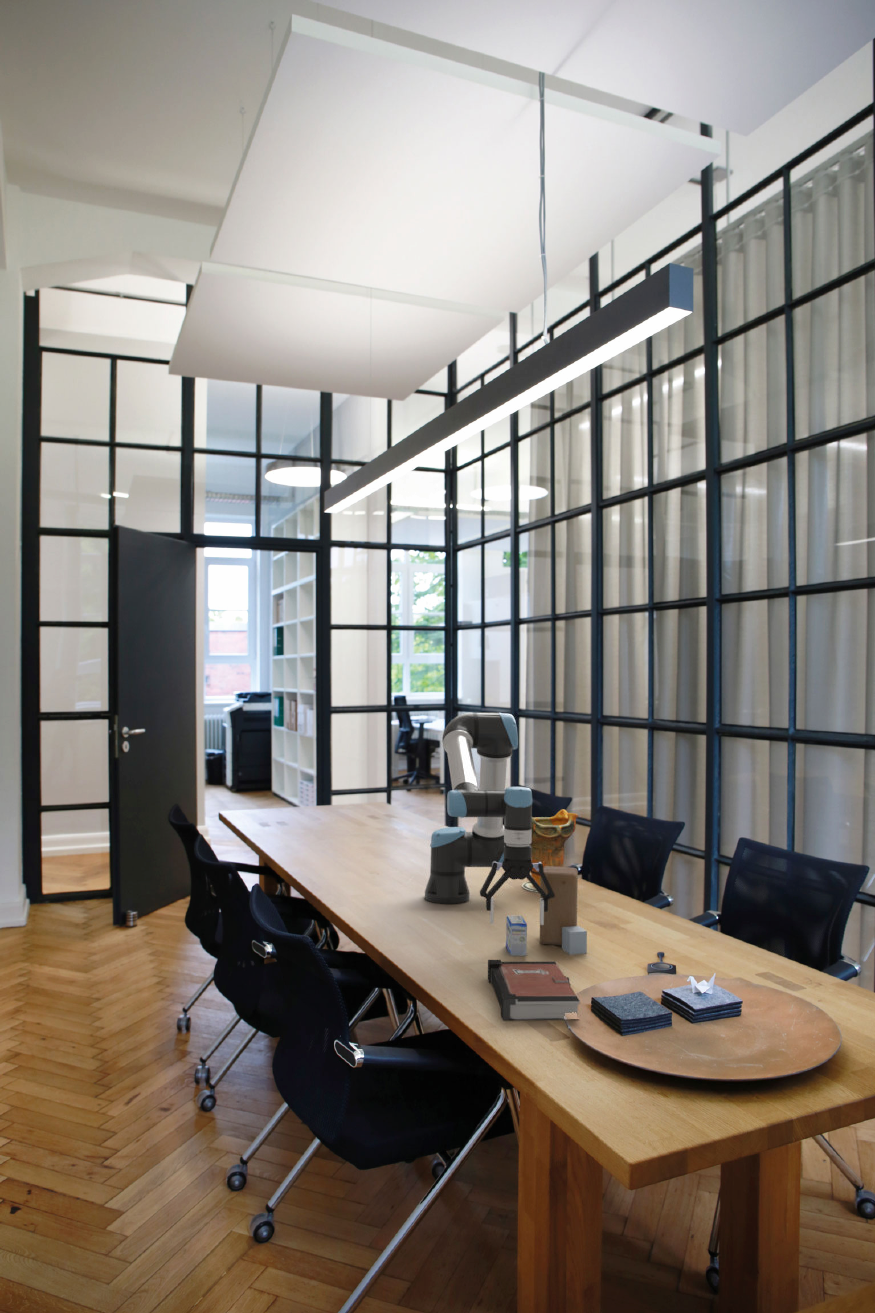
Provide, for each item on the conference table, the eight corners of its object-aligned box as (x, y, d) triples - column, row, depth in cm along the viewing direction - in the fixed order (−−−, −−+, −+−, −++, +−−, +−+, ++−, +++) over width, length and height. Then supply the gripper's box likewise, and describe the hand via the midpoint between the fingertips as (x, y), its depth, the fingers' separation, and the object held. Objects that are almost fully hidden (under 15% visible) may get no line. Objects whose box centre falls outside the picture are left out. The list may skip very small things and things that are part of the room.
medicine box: (505, 947, 234) (506, 915, 234) (521, 946, 234) (521, 915, 234) (510, 956, 226) (510, 923, 226) (526, 956, 226) (527, 923, 226)
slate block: (569, 955, 228) (569, 932, 228) (562, 949, 233) (562, 927, 233) (586, 953, 229) (586, 931, 229) (578, 948, 234) (579, 926, 234)
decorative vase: (501, 882, 307) (506, 805, 309) (556, 881, 316) (560, 805, 318) (530, 896, 288) (535, 813, 290) (587, 894, 297) (591, 814, 299)
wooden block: (575, 947, 234) (576, 874, 235) (539, 944, 236) (540, 872, 237) (576, 937, 244) (577, 867, 244) (542, 934, 246) (543, 865, 246)
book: (582, 1022, 183) (583, 999, 183) (502, 1023, 182) (503, 999, 182) (557, 980, 209) (557, 959, 210) (487, 980, 208) (488, 959, 208)
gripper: (472, 846, 227) (471, 926, 226) (565, 847, 227) (564, 927, 226) (471, 841, 234) (470, 918, 233) (561, 842, 234) (560, 920, 233)
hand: (516, 923), depth 230 cm, fingers open, 13 cm apart
